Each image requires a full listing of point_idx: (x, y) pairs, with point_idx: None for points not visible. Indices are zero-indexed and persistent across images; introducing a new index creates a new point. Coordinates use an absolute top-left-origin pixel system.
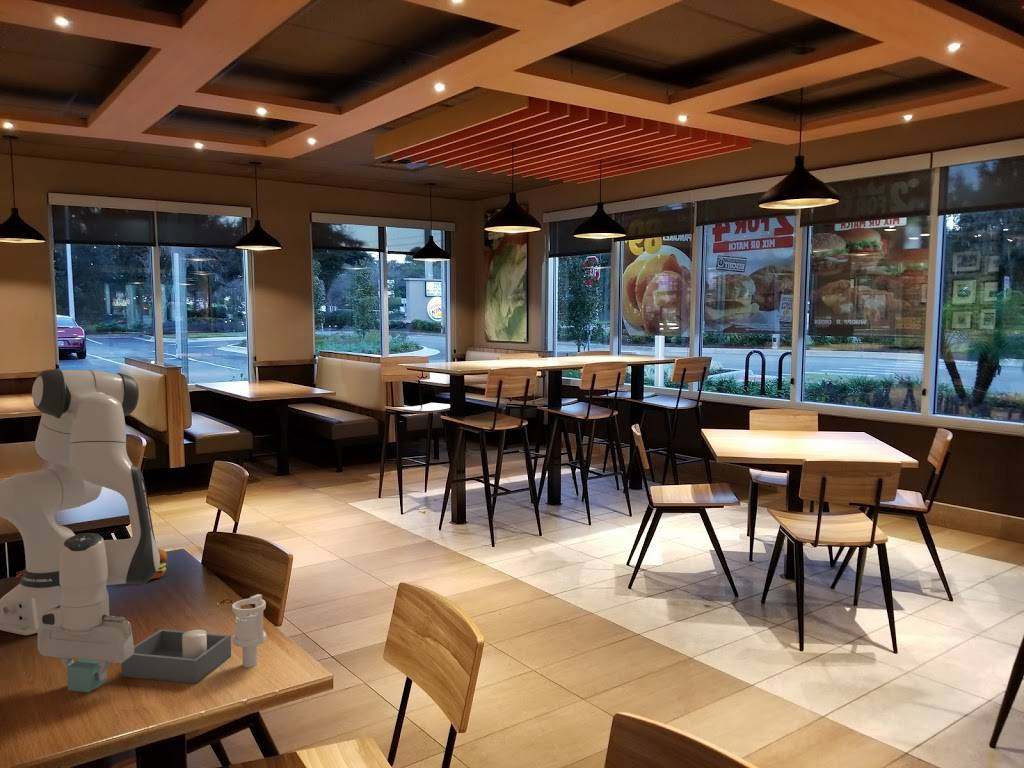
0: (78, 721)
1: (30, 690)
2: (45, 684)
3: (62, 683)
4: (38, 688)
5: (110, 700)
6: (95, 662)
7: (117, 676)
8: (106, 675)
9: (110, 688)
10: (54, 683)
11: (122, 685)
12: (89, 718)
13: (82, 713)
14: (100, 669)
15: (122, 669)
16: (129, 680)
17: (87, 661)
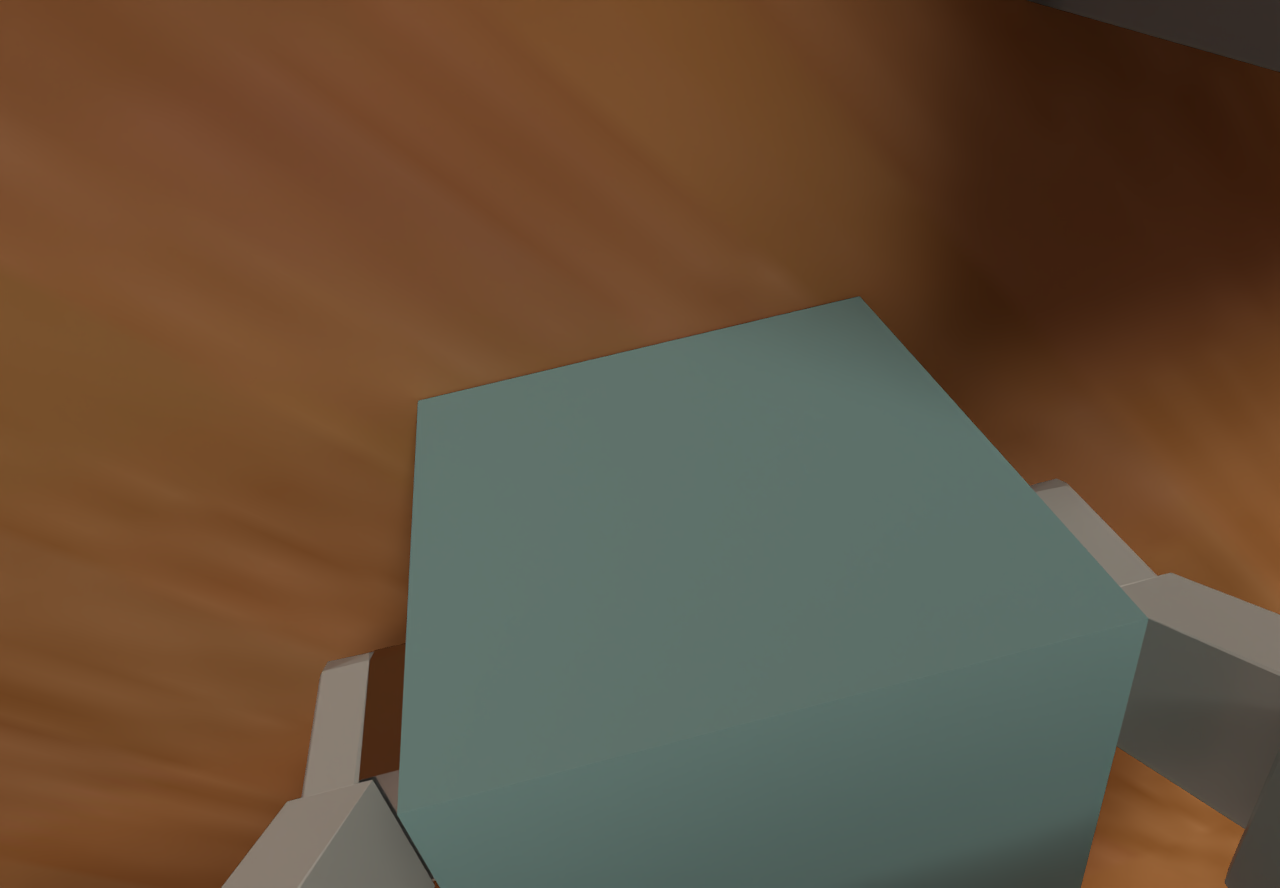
0: (1143, 870)
1: (64, 884)
2: (17, 751)
3: (219, 635)
4: (87, 829)
5: (1249, 597)
6: (1017, 826)
7: (925, 40)
8: (1081, 507)
9: (1081, 421)
10: (101, 685)
11: (1219, 278)
12: (1210, 821)
13: (1099, 816)
14: (1182, 773)
15: (1142, 22)
16: (1261, 81)
17: (770, 879)
